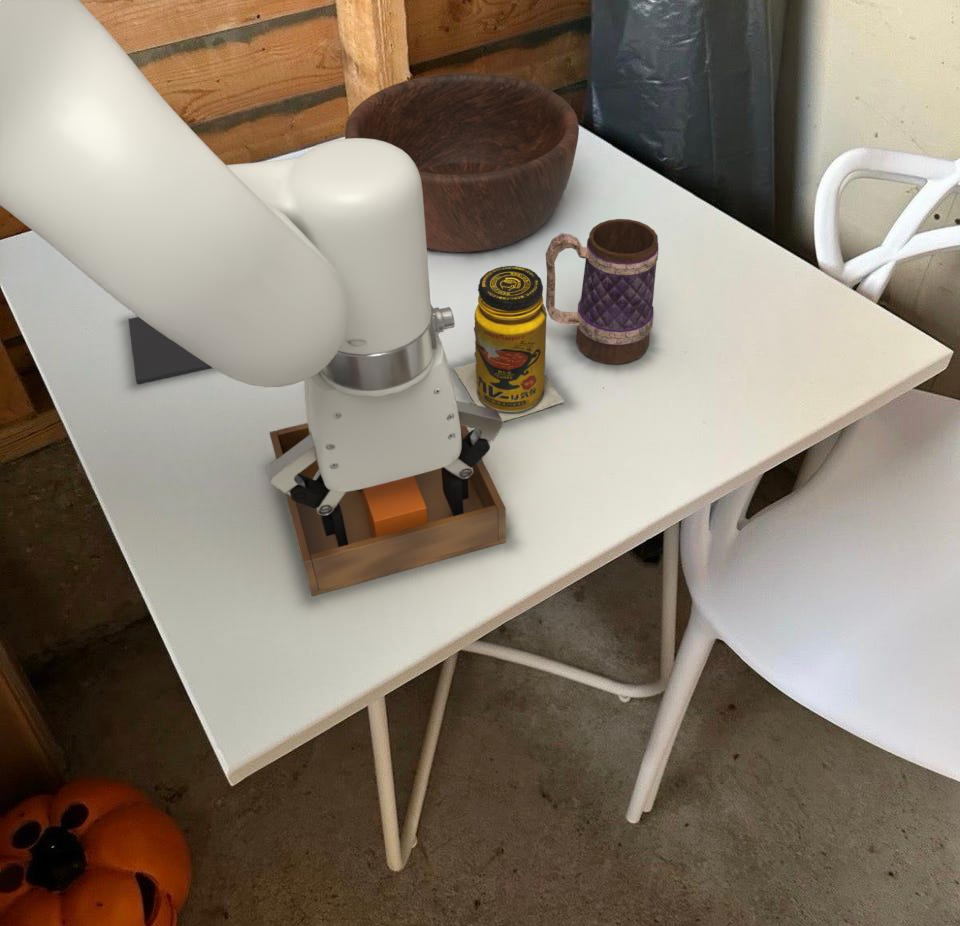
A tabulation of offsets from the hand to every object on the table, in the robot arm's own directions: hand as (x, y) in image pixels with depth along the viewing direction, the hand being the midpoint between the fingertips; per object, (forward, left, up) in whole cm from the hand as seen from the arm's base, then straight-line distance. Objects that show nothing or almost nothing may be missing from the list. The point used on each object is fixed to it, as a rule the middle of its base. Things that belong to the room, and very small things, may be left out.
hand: (397, 519), depth 71 cm
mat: (-13, +30, -2) cm, 33 cm away
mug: (+24, +16, -2) cm, 29 cm away
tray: (0, +3, -2) cm, 4 cm away
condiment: (+14, +13, -2) cm, 19 cm away
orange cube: (0, 0, -1) cm, 1 cm away
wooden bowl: (+20, +44, -2) cm, 49 cm away
